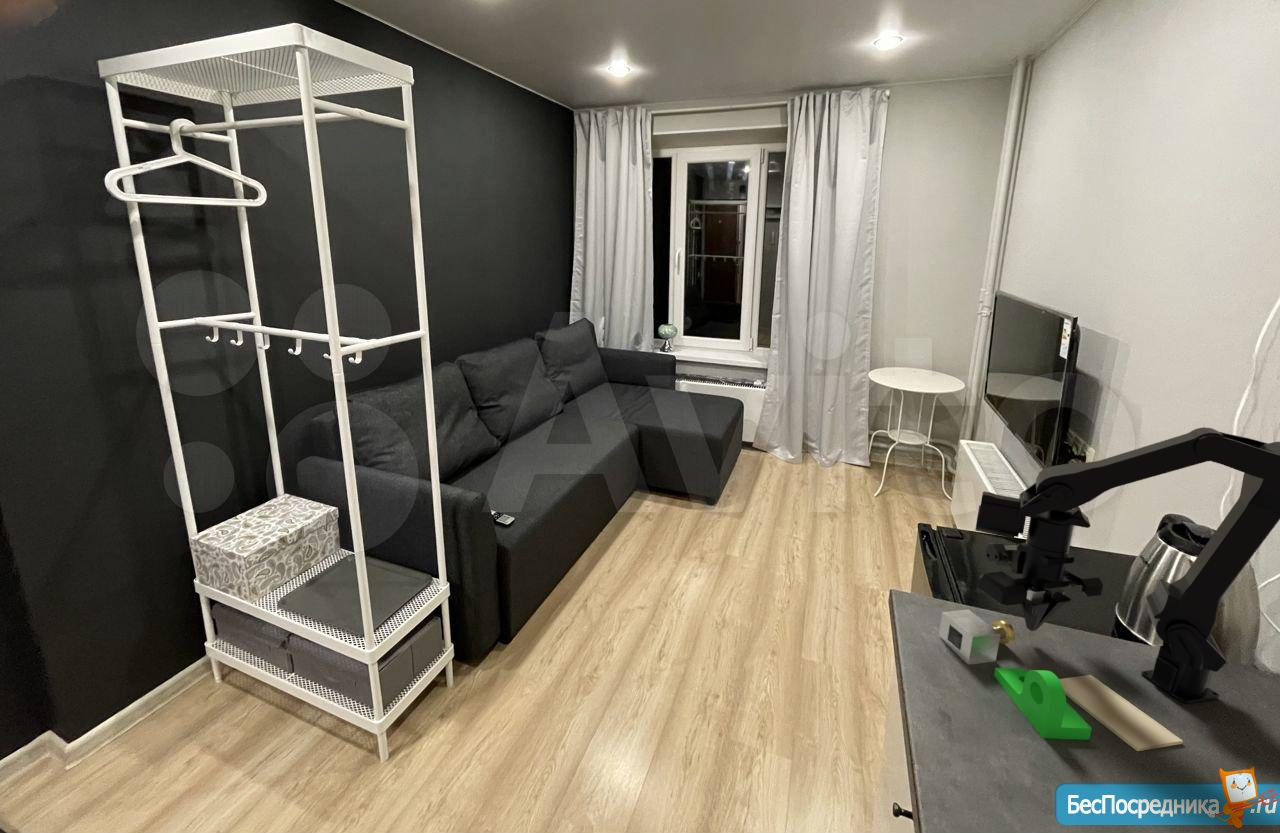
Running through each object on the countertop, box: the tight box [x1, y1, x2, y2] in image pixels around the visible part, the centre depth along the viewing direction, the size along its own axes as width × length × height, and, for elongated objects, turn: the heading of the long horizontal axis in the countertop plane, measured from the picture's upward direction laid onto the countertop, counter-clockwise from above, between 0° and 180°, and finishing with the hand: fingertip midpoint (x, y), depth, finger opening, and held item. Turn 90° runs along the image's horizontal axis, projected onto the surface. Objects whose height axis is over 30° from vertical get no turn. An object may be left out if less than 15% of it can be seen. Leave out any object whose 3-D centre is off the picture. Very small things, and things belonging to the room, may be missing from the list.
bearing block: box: [938, 609, 1000, 665], centre depth 94 cm, size 5×7×6 cm
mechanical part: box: [993, 667, 1093, 741], centre depth 82 cm, size 12×6×8 cm, turn 178°
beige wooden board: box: [1058, 674, 1184, 752], centre depth 82 cm, size 7×13×1 cm, turn 10°
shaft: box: [990, 619, 1016, 645], centre depth 95 cm, size 7×4×4 cm, turn 100°
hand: (1031, 629), depth 96 cm, fingers closed
